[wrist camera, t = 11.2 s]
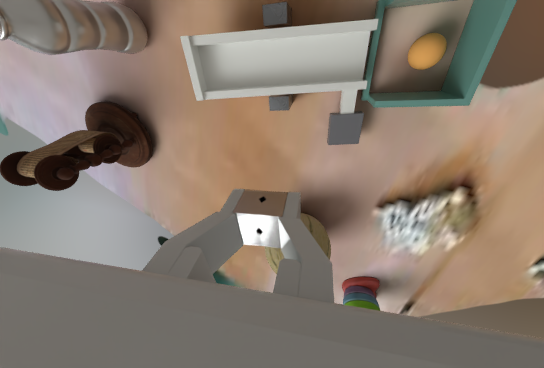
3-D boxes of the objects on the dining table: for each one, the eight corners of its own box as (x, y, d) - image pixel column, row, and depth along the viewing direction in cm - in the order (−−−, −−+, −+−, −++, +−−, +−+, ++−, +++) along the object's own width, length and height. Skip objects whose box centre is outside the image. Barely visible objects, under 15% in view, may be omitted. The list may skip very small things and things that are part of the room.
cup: (377, 1, 26) (390, -10, 21) (486, -12, 23) (530, -29, 18) (360, 98, 32) (367, 107, 27) (444, 96, 30) (469, 105, 25)
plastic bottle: (111, 0, 32) (-110, -54, 15) (151, 11, 31) (-32, -31, 15) (120, 47, 35) (-50, 45, 19) (156, 58, 35) (14, 65, 19)
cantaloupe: (294, 189, 45) (284, 241, 32) (343, 222, 47) (350, 282, 35) (260, 223, 53) (243, 274, 41) (304, 250, 55) (299, 306, 43)
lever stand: (270, 11, 28) (262, 5, 24) (291, 8, 28) (286, 1, 24) (275, 103, 35) (269, 110, 31) (292, 103, 35) (288, 110, 30)
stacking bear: (375, 298, 61) (391, 374, 47) (340, 293, 64) (346, 365, 49) (380, 277, 55) (400, 357, 41) (342, 274, 58) (348, 348, 43)
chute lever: (190, 38, 27) (180, 36, 25) (377, 21, 26) (389, 17, 23) (216, 147, 36) (211, 155, 33) (356, 140, 34) (363, 149, 32)
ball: (405, 35, 26) (437, 31, 23) (427, 33, 27) (460, 30, 24) (397, 70, 28) (424, 71, 25) (417, 67, 29) (446, 68, 26)
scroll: (142, 101, 40) (22, 136, 24) (165, 165, 49) (86, 222, 32) (83, 98, 43) (-62, 128, 27) (114, 159, 51) (18, 210, 35)
